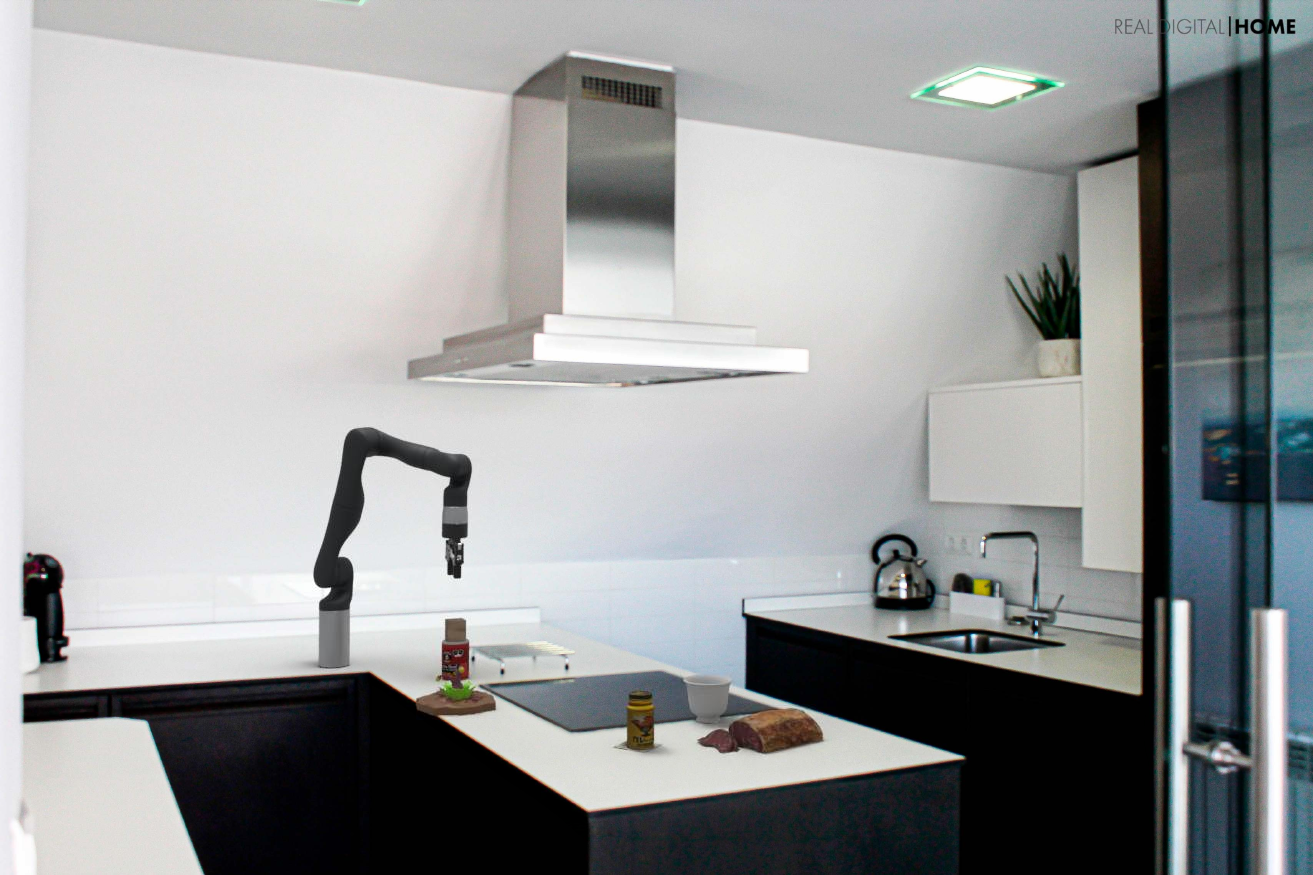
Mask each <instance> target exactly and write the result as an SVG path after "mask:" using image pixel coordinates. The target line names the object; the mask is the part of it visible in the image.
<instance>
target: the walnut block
mask: <svg viewBox="0 0 1313 875" xmlns="http://www.w3.org/2000/svg"><path fill="white" fill-rule="evenodd" d="M466 639H467V620H466V619H464V618H463V617H458V618H457V617H454V618H445V619H444V640H446V641H448V642H459V641H466Z"/></svg>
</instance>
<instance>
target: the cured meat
mask: <svg viewBox="0 0 1313 875" xmlns="http://www.w3.org/2000/svg"><path fill="white" fill-rule="evenodd" d="M823 740H824V732H823V731H822V728H821V727H820V725H819V724H818V722H817V721H816V720H815V719H814V718H813V717H812V716H810V715H809V714H808V713H807V712H806V711H804V710H803V709H798V708H794V707H793V708H792V707H788V708H783V709H782V708H781V709H772V710H771V709H770V710H765V711H764V710H763V711H760V712H756V713H753V714H749V715H746V716H743V717H740V718H739V719H736V720H734V721H732V722H731V723H730V724H729V725H728V730H725V729H724V728H718V729H714V730H712V731H710V732H709V733H708V734H707V735H706V736H702V737H700V738H697V740H696V741H697V742H698V743H700V744H702V745H704V746H707V747H711V748H715V749H717V751H718V752H719V753H722V754H725V753H730V752H735V753H737V752H738V750H739V748H740V749H744V748H747V747H751V748H752V749H755V750H756V751H757V753H758V754H768V753H771V752H778V751H781V750H782V751H784V750H789V749H792V748H796V747H798V746H803V745H807V744H811V743H817V742H821V741H823Z"/></svg>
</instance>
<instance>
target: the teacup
mask: <svg viewBox="0 0 1313 875" xmlns="http://www.w3.org/2000/svg"><path fill="white" fill-rule="evenodd" d="M683 682H684V683H685V685H686V689H687V698H688V705H689V709H690V711H691V712H692V713H691V714H694V715H695V716H696V721H697V722H699V723H704V724H714V723H715V724H716V723H718V722H720V721H721V718H720V716H723V714H725V713H726V711H727V707H728V702H729V694H730V693H729V692H730V686H731V683H733V678H731V677H729V676H727V675H721V674H720V675H719V674H710V673H709V674H693V675H689V676H686V677H685V678H683Z"/></svg>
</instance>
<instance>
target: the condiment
mask: <svg viewBox="0 0 1313 875" xmlns="http://www.w3.org/2000/svg"><path fill="white" fill-rule="evenodd" d="M627 703H628V704H627V706H626V740H625V741H623V742H621V743H619V744H616V745H614V746H613V748H617V749H624V750H629V751H634V752H641V753H646V752H647V753H648V752H649V751H652V750H653V749H655V748H657V747H659V746H661V745H662V743H657V742H655V706H654V704H653V693H652V692H651V691H646V690H633V691H631V692H629V693H628V702H627Z"/></svg>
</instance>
